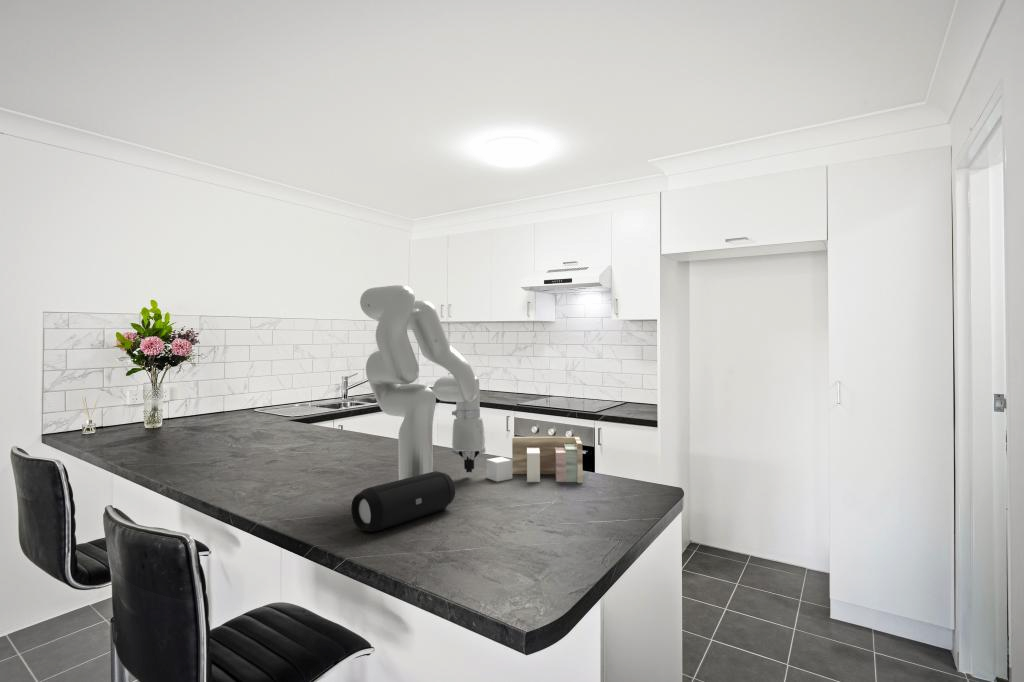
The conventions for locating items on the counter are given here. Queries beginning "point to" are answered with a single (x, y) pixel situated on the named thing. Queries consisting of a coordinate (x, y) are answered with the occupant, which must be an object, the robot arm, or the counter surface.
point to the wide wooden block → (550, 456)
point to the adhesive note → (499, 469)
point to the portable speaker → (402, 501)
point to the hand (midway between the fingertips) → (469, 471)
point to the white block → (533, 464)
